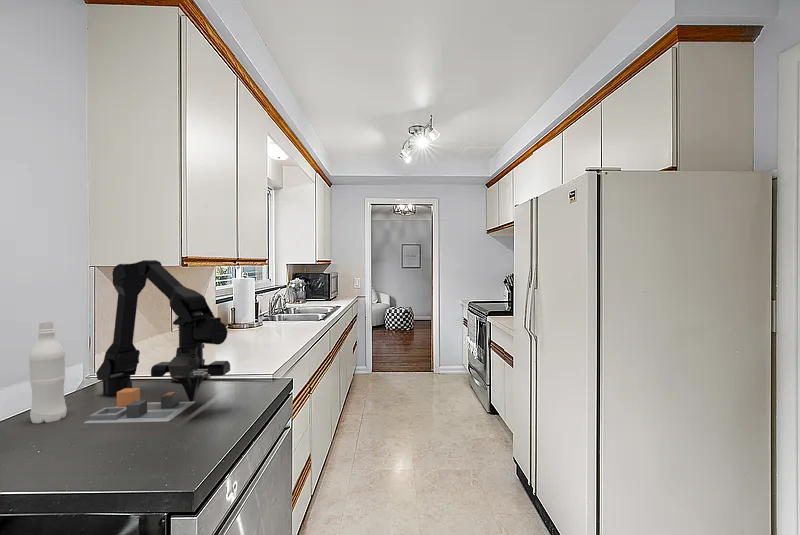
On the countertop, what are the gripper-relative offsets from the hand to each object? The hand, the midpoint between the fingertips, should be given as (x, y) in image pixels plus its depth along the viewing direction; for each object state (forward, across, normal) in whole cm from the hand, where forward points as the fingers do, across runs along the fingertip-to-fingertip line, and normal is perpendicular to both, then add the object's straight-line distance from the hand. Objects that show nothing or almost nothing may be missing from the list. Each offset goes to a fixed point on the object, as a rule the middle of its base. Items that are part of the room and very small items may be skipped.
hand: (192, 401), depth 126 cm
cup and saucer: (+3, -16, +36) cm, 39 cm away
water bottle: (+3, -32, -8) cm, 33 cm away
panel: (+3, -11, -4) cm, 12 cm away
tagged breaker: (+1, -6, 0) cm, 6 cm away
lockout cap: (+1, -18, +2) cm, 18 cm away
